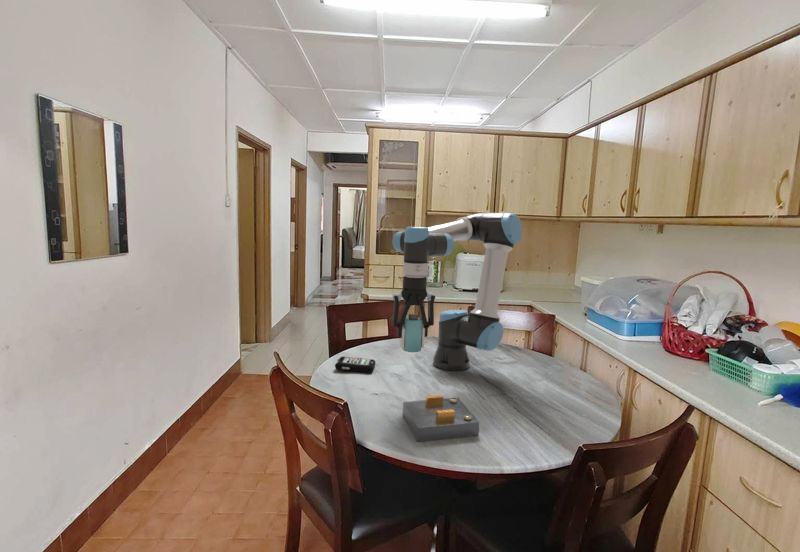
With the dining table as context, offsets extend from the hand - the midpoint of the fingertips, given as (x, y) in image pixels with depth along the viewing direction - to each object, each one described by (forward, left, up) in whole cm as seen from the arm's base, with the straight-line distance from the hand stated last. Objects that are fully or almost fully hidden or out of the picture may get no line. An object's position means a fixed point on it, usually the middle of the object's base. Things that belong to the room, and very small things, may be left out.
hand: (411, 346), depth 130 cm
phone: (+13, -34, -20) cm, 41 cm away
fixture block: (-5, +15, -19) cm, 25 cm away
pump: (0, 0, -1) cm, 1 cm away
